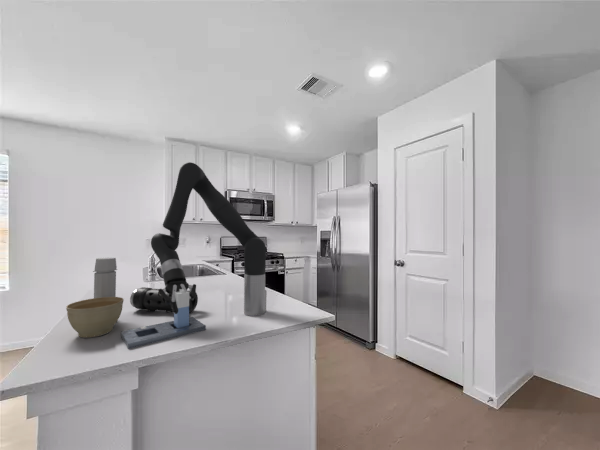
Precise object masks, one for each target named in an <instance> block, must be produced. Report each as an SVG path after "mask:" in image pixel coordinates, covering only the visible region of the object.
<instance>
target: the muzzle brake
mask: <svg viewBox="0 0 600 450" xmlns="http://www.w3.org/2000/svg"><path fill="white" fill-rule="evenodd" d="M159 289H160V288H153V287H152V288H151V287H140V288H136V289H134V291H133V292H132V293H131V294H130V298H129V302H130V305H131V306H132V307H133V308H135V309H137V310H147V312H151V313H153V312H157V311H160V312H161V311H163V312H165V313H173V312H172V308H171V305H165V304H164V303H163V301H162V300H161V298H160V297H159V296H158V291H159ZM187 291H188V292H189V295H190V296H191V291H190V290H187ZM165 292H166V291H165ZM165 294H166V295H167V296H168V298H169V299H171V295H170V294H168V293H167V292H166V293H165ZM198 301H199V296H198V293H197V292H196V293H195V297H194V300H193V301H191V302H192V306H193V307H192V309H191V311H189V314H192V313H193V312H194V311H195V309H196V308H197V305H198ZM173 314H174V313H173Z"/></svg>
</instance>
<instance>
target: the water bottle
mask: <svg viewBox="0 0 600 450" xmlns="http://www.w3.org/2000/svg"><path fill="white" fill-rule="evenodd" d="M117 267H118V266H117V259H116V257H98V258H96V259H95V263H94V269H93V271H92V272H93V273H94V275H93V277H94V278H93V280H94V281H93V298H100V297H117V295H116V291H117V289H116V288H117V284H116V283H117V270H118V269H117Z"/></svg>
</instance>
